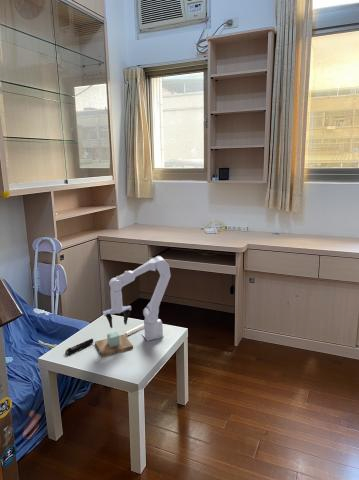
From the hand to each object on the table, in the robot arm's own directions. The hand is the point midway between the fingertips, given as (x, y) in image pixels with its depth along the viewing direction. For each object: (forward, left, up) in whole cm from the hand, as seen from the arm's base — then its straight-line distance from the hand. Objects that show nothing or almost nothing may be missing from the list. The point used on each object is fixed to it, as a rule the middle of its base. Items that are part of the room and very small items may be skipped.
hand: (118, 325), depth 185 cm
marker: (-13, -8, -10) cm, 18 cm away
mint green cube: (+4, +3, -8) cm, 9 cm away
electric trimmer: (+20, -4, -10) cm, 23 cm away
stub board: (+4, +3, -9) cm, 11 cm away
